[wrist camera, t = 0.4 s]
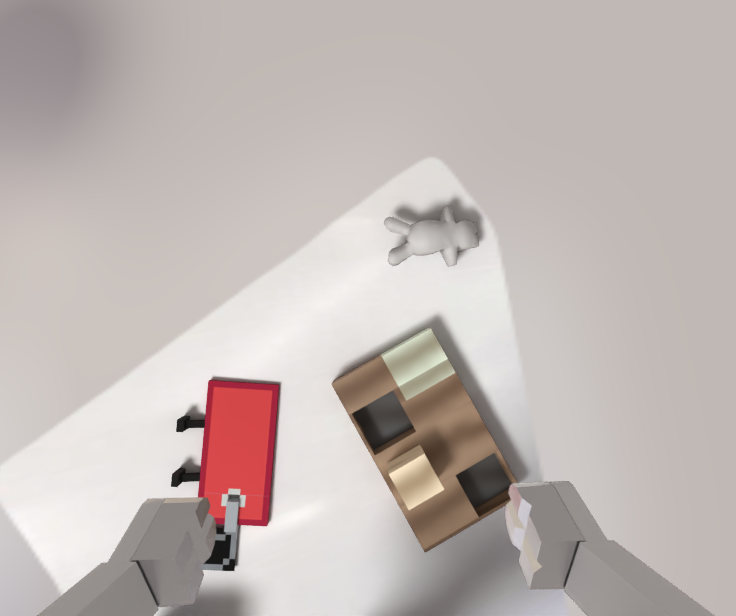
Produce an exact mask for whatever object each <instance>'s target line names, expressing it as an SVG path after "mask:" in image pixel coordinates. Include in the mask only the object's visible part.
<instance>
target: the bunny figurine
mask: <svg viewBox="0 0 736 616" xmlns="http://www.w3.org/2000/svg"><path fill="white" fill-rule="evenodd" d="M384 224H385V226H386V228H387V229H388V230H389V231H391V232H395V233H399V234H403V235H407V243H406V244H404V245H401V246H399V247H396V248H393V249H392V250H391V251H390V252H389V255H388V262H389V264H390V265H393V266H395V265H398V264H400V263H401V262H403V261H404V260H406V259H407V258H408V257H410V256H411V255H417V256H423V255H429V254H433V253H435V252H438V251H440V252H441V254H442V256H443V258H444V260H445V262H446V264H447V266H448V267H449V266H453V265H456V264H457V252H458V251H462V250H466V249H470V248H475V247H477V246H479V242H478V236H477V235H475V233H477V222H471V221H469V220H463V221H460V222H458V223H455V219H454V216H453V212H452V208H451V207H450V206H446V207H445V208H444V209H443V210H442V213H441V217H440V221H438V220H423V221H420V222H417V223H414V224H412V225H409V224H407V223H404V222H402V221H400V220H398V219H396V218H394V217H388V218H386V219H385V221H384Z"/></svg>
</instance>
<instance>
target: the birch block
mask: <svg viewBox="0 0 736 616" xmlns="http://www.w3.org/2000/svg"><path fill="white" fill-rule="evenodd" d="M387 468H388V473H389V476H390V477H391V479H392V481H393V483H394V485H395V486H396V488H397V490H398V492H399V494H400V495H401V497H402V499H403V501H404V503H405V504H406V506H407V508H408V510H410V509H412V508H414V507H416V506H417V505H419V504H421V503H422V502H424V501H426V500H428V499H429V498H431V497H433V496H434V495H436V494H438V493H440V492H441V491H443V490H444V488H443V486H442V484H441V482H440V480H439V478H438V476H437V474H436V473H435V471H434V469H433V467H432V465H431V464H430V462H429V460H428V458H427V456H426V455H425V453H424V451H423V449H422V447H421V446H420V445H418V446H416V447H414V448H413V449H411V450H409V451H408V452H406V453H404V454H402V455H401V456H399V457H397V458H395V459H394V460H392V461H390V462H388V463H387Z"/></svg>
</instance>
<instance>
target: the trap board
mask: <svg viewBox="0 0 736 616" xmlns="http://www.w3.org/2000/svg"><path fill="white" fill-rule="evenodd" d="M332 386H333V388H334V390H335V391H336V393H337V395H338V397H339V399H340V400H341V402H342V404H343V406H344V408H345V409H346V411H347V413H348V415H349V417H350V418H351V420H352V422H353V424H354V426H355V427H356V429H357V431H358V433H359V435H360V436H361V438H362V440H363V442H364V444H365V445H366V447H367V449H368V451H369V453H370V454H371V456H372V458H373V460H374V462H375V463H376V465H377V467H378V469H379V471H380V472H381V474H382V476H383V478H384V480H385V481H386V483H387V485H388V487H389V489H390V490H391V492H392V494H393V496H394V498H395V499H396V501H397V503H398V505H399V507H400V508H401V510H402V512H403V514H404V516H405V517H406V519H407V521H408V523H409V525H410V526H411V528H412V530H413V532H414V534H415V535H416V537H417V539H418V541H419V543H420V544H421V546H422V548H423V550H424V552H427V551H429V550H431V549H432V548H434V547H436V546H437V545H439V544H441V543H442V542H444V541H446V540H447V539H449V538H451V537H453V536H454V535H456V534H458V533H459V532H461V531H463V530H464V529H466V528H468V527H470V526H471V525H473V524H475V523H476V522H478V521H480V520H481V519H483V518H485V517H486V516H488V515H490V514H492V513H493V512H495V511H497V510H498V509H500V508H502V507H503V506H505V505H506V504H507V503H509V502H510V501H511V498H510V496H509V494H508V492H509V487H510V485H511V484H513V483H517V481H516V479H515V478H514V476H513V474H512V472H511V471H510V469H509V467H508V465H507V463H506V462H505V460H504V458H503V456H502V454H501V453H500V451H499V449H498V447H497V446H496V444H495V442H494V440H493V438H492V437H491V435H490V433H489V431H488V430H487V428H486V426H485V424H484V422H483V421H482V419H481V417H480V415H479V413H478V412H477V410H476V408H475V406H474V405H473V403H472V401H471V399H470V397H469V396H468V394H467V392H466V390H465V388H464V387H463V385H462V383H461V381H460V380H459V378H458V376H457V374H456V372H455V371H454V369H453V367H452V365H451V364H450V362H449V360H448V358H447V356H446V355H445V353H444V351H443V349H442V347H441V346H440V344H439V342H438V340H437V339H436V337H435V335H434V333H433V331H432V330H431V329H430V328H427V329H425V330H423V331H421V332H420V333H418V334H416V335H414V336H412V337H411V338H409V339H407V340H405V341H404V342H402V343H400V344H398V345H397V346H395V347H393V348H391V349H389V350H388V351H386V352H384V353H382V354H381V355H379V356H377V357H375V358H373V359H372V360H370V361H368V362H366V363H365V364H363V365H361V366H359V367H358V368H356V369H354V370H352V371H350V372H349V373H347V374H345V375H343V376H342V377H340V378H338V379H336V380H335V381H333V383H332ZM418 445H420V446H421V447H422V449H423V451H424V453H425V455H426V456H427V458H428V460H429V462H430V464H431V465H432V467H433V469H434V471H435V473H436V474H437V476H438V478H439V480H440V482H441V484H442V486H443V488H444V490H443V491H441V492H440V493H438V494H436V495H434V496H433V497H431V498H429V499H428V500H426V501H424V502H422V503H421V504H419V505H417V506H416V507H414V508H412V509H410V510H408V508H407V506H406V504H405V503H404V501H403V499H402V497H401V495H400V494H399V492H398V490H397V488H396V486H395V485H394V483H393V481H392V479H391V477H390V476H389V473H388V468H387V463H388V462H390V461H392V460H394V459H395V458H397V457H399V456H401V455H402V454H404V453H406V452H408V451H409V450H411V449H413V448H414V447H416V446H418Z"/></svg>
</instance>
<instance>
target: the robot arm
mask: <svg viewBox="0 0 736 616" xmlns="http://www.w3.org/2000/svg"><path fill="white" fill-rule="evenodd" d="M508 494H509V496H510V498H511V501H510V502H509V503H507V504H506V510H505V519H506V526H507V530H508V534H509V536H510V539H511V542H512V544H513V545H514V546H515V547H517V548H518V549H519V550H520V551H521V553H520V557H519V563H520V566H521V568H522V571H523V573H524V576H525V579H526V581H527V584H528V586H529V589H564V591H565V593H566V594H567V595H568V596H569V597H570V598H571V599H572V600H573V601H574V602H575V603H576V604H577V605H578V606H579V607H580V608H581V610H582V611H583V612H584V613H585V614H586V615H587V616H714V615H713V614H712V613H711V612H709V611H707V610H706V609H705V608H704V607H702V606H701V605H700V604H698V603H697V602H696V601H694V600H693V599H692V598H690V597H689V596H688V595H686V594H685V593H684V592H682V591H681V590H680V589H678V588H677V587H676V586H674V585H673V584H672V583H670V582H669V581H668V580H666V579H665V578H663V577H662V576H661V575H659V574H658V573H657V572H655V571H654V570H653V569H651V568H650V567H649V566H647V565H646V564H645V563H643V562H642V561H641V560H639V559H638V558H637V557H635V556H634V555H633V554H631V553H630V552H628V551H627V550H626V549H625V548H623V547H622V546H620V545H619V544H618V543H616V542H615V541H608V540H607V539H606V537H605V535H604V534H603V532H602V531H601V529H600V528H599V526H598V524H597V523H596V521H595V519H594V518H593V516H592V515H591V513H590V512H589V510H588V508H587V507H586V505H585V503H584V502H583V500H582V499H581V497H580V496H579V494H578V492H577V491H576V489H575V488H574V486H573V485H572V484H571V483H570V482H569V481H558V482H530V483H513V484H511V485H510V487H509V492H508ZM210 506H211V505H210V503H209V500H208V497H206V498H153V499H148V500H146V501H145V502H144V503H143V504H142V505H141V507H140V509H139V510H138V512H137V514H136V515H135V517H134V519H133V521H132V522H131V524H130V526H129V527H128V529H127V531H126V532H125V534H124V536H123V537H122V539H121V541H120V542H119V544H118V546H117V547H116V549H115V551H114V552H113V554H112V556H111V558H110V559H109V561H108V563H101V564H100V565H98V566H97V567H96V568H95V569H94V570H92V571H91V572H90V573H89V574H87V575H86V576H85V577H84V578H82V579H81V580H80V581H79V582H78V583H76V584H75V585H74V586H73V587H71V588H70V589H69V590H68V591H67V592H65V593H64V594H63V595H62V596H60V597H59V598H58V599H57V600H56V601H54V602H53V603H52V604H51V605H50V606H48V607H47V608H46V609H45V610H43V611H42V612H41V613H40V614H38V615H37V616H153V615H154V614H155V613H156V612H157V611H158V607H166V606H179V605H192V604H194V601H195V599H196V596H197V593H198V590H199V587H200V585H201V582H202V579H203V576H204V574H203V570H202V567H201V566H202V565H203V564H204V563H205V562H206V561H207V560H208V559H209V558H210V556H211V553H212V551H213V548H214V544H215V538H216V522H215V519H214V517H213V516H212V515H210V514H209V513H208V511H209V509H210Z"/></svg>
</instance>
